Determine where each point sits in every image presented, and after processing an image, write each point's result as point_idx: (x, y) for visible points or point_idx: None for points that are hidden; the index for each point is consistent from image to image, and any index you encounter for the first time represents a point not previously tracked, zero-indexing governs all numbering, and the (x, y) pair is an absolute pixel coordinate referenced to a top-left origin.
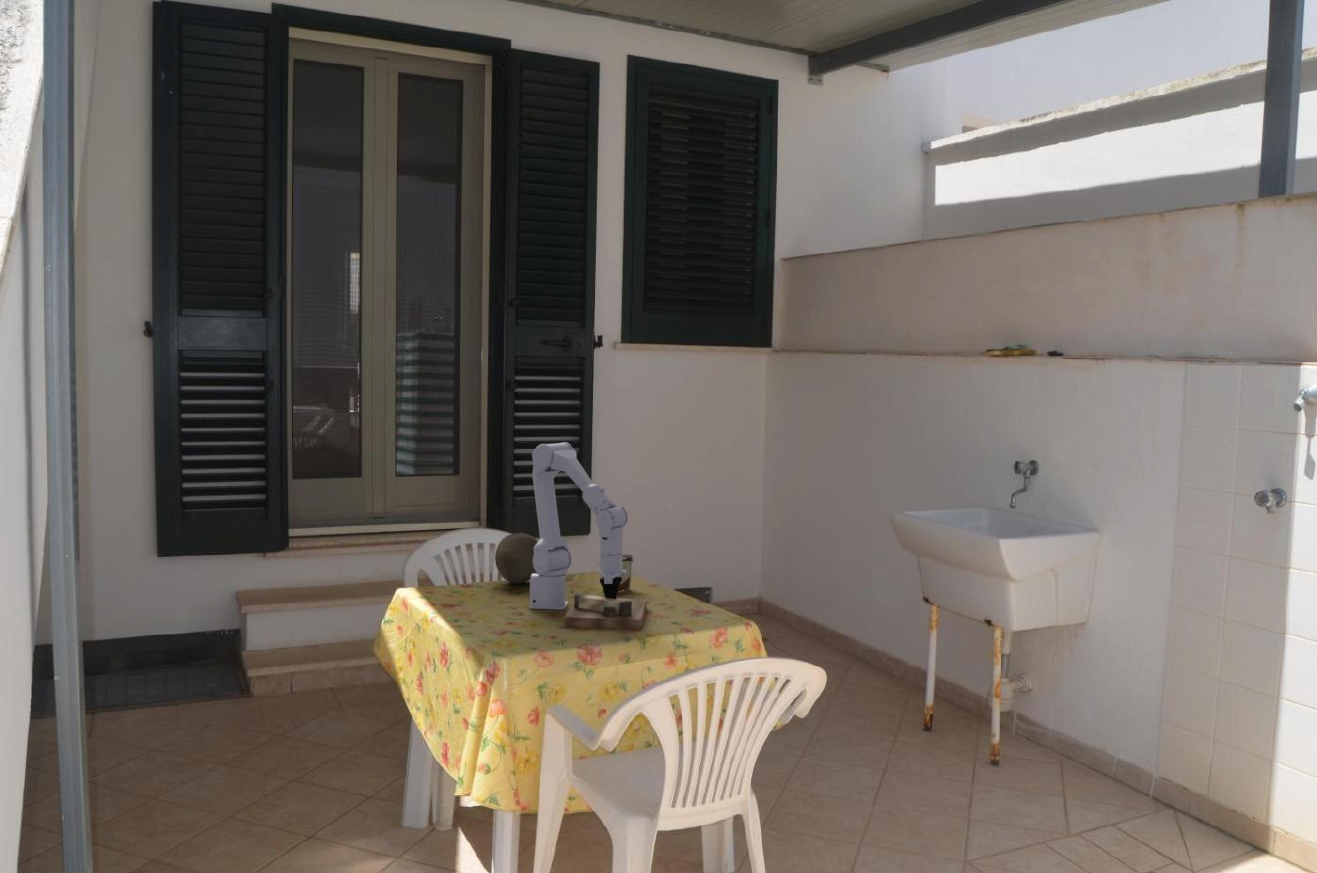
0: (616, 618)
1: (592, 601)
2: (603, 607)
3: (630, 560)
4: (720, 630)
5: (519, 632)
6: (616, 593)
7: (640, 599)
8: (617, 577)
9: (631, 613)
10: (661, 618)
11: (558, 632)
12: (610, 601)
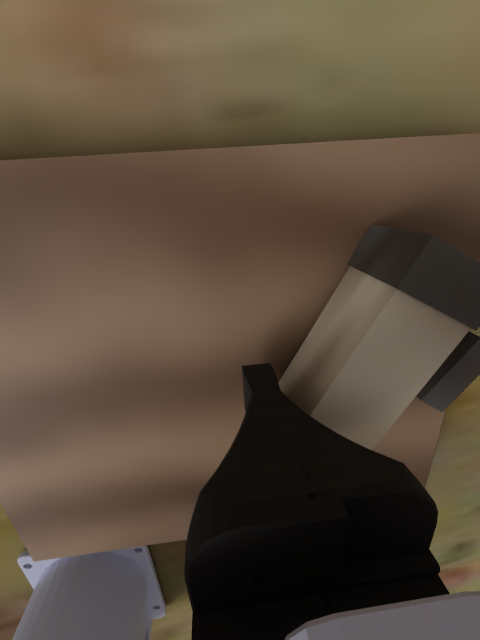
0: None
1: None
2: (438, 407)
3: None
4: None
5: (451, 548)
6: (300, 409)
7: None
8: (236, 583)
9: (373, 225)
10: (153, 4)
11: (464, 467)
12: (405, 399)
